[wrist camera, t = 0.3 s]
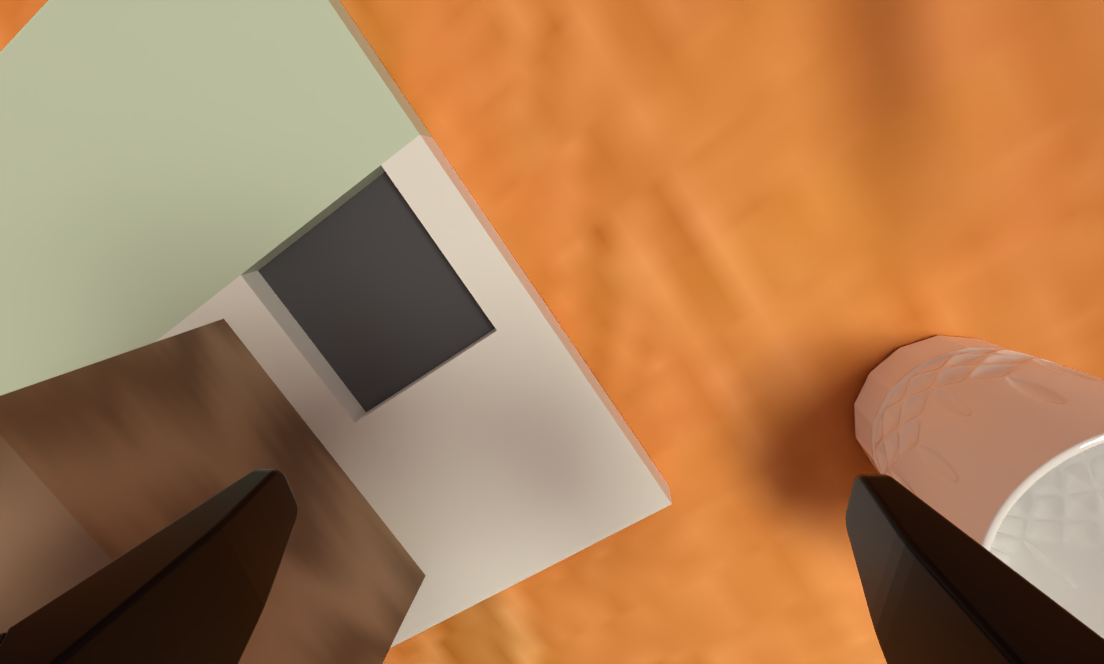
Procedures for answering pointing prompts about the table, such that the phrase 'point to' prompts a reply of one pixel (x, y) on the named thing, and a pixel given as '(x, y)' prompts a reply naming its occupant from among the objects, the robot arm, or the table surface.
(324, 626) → the brown wooden block
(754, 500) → the table surface
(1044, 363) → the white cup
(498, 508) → the trap board
